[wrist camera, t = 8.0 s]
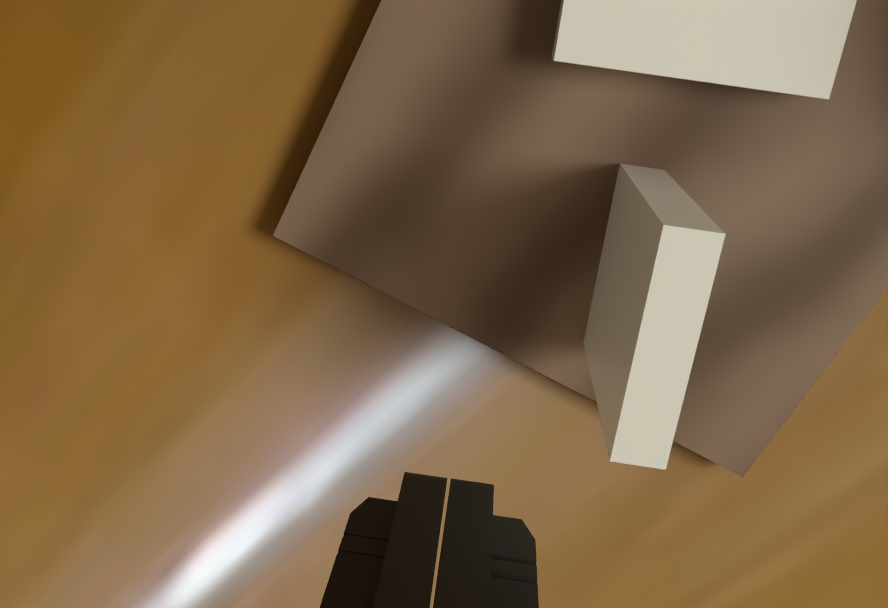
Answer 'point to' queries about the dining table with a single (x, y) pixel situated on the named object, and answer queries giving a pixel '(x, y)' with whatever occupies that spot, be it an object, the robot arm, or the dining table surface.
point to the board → (602, 199)
